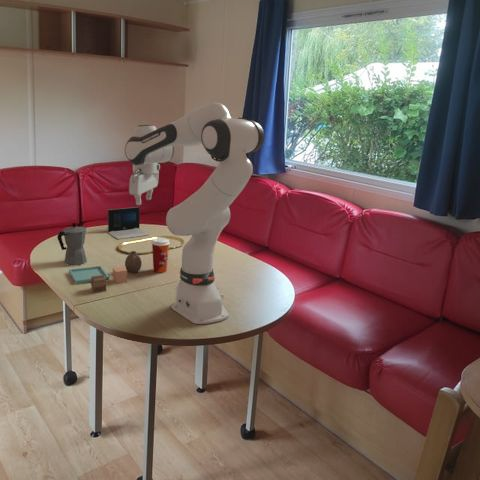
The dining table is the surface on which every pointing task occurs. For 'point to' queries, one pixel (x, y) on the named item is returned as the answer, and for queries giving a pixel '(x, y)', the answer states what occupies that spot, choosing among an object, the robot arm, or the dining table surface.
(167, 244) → the paper cup
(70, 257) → the coffeepot
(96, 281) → the walnut block
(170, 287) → the dining table surface
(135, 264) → the vase
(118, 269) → the terracotta block
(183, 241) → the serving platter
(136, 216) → the laptop
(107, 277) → the tray
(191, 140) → the robot arm
